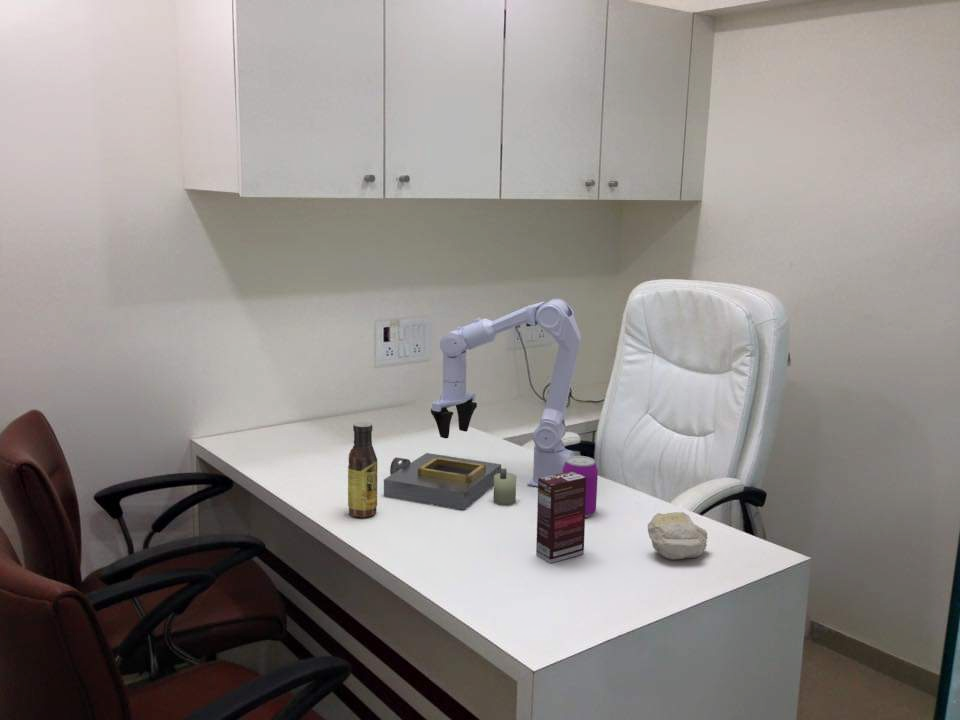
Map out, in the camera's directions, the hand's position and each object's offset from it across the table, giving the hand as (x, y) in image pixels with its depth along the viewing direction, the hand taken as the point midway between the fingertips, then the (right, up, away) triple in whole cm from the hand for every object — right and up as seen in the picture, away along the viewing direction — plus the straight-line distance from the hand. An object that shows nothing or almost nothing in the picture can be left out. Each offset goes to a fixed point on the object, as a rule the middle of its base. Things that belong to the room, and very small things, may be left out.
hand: (453, 434), depth 213 cm
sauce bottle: (-19, -15, -26) cm, 35 cm away
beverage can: (+28, -16, -22) cm, 39 cm away
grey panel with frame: (-3, -12, -9) cm, 15 cm away
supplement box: (+22, -20, -44) cm, 53 cm away
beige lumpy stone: (+45, -20, -43) cm, 66 cm away
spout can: (+12, -14, -17) cm, 25 cm away
